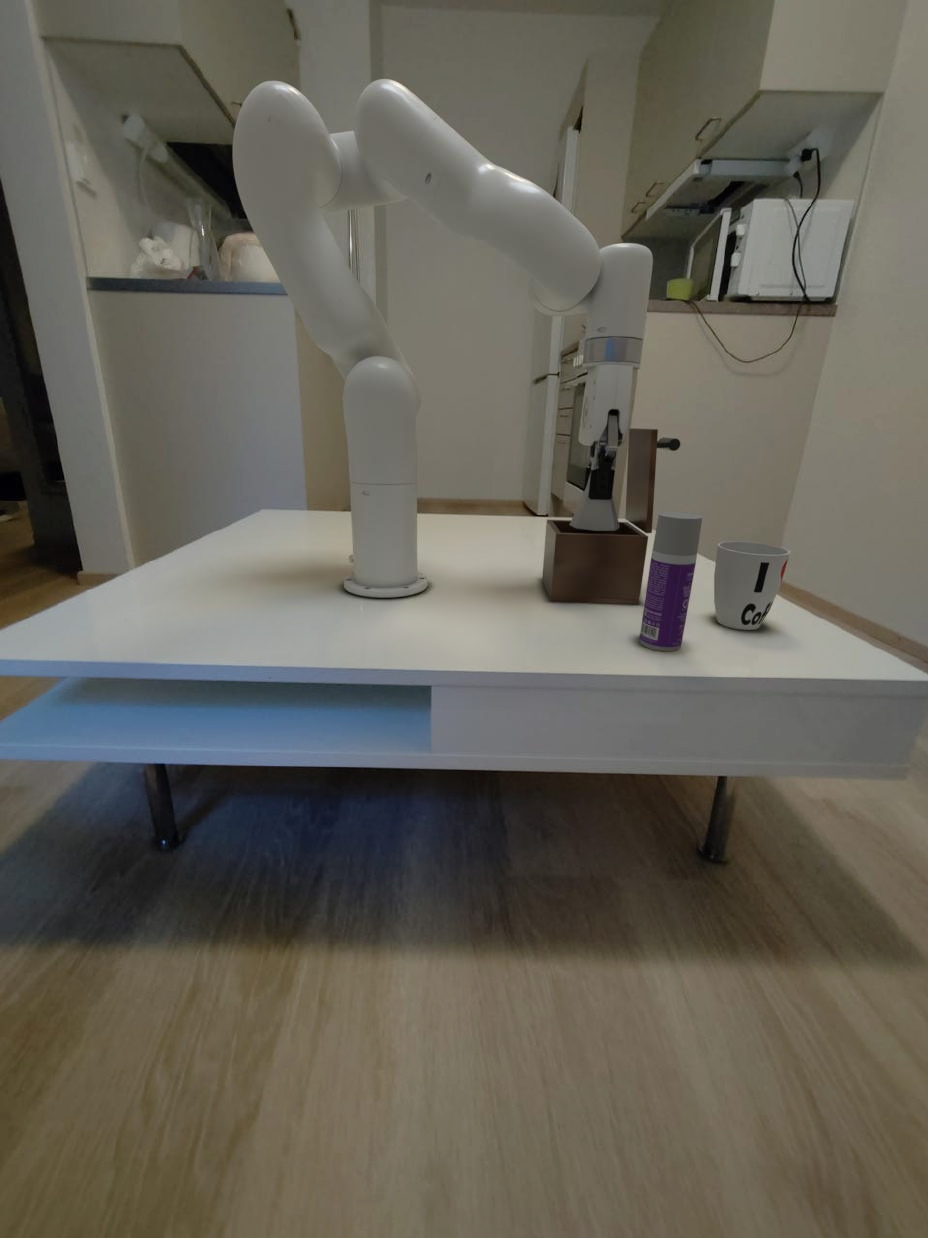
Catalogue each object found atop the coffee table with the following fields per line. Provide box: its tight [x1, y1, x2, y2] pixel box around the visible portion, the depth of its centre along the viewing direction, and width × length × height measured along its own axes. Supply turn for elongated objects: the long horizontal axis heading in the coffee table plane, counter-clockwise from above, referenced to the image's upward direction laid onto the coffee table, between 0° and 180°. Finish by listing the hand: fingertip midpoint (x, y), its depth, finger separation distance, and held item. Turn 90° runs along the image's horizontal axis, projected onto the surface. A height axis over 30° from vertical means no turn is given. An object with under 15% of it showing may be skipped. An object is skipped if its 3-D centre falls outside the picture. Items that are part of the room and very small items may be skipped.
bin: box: [541, 519, 649, 605], centre depth 82 cm, size 13×12×10 cm
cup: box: [713, 541, 791, 631], centre depth 70 cm, size 8×8×10 cm
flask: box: [569, 457, 620, 531], centre depth 78 cm, size 7×7×10 cm
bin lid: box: [624, 427, 681, 534], centre depth 77 cm, size 13×12×5 cm
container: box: [638, 511, 703, 652], centre depth 61 cm, size 5×5×15 cm
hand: (597, 496), depth 79 cm, fingers closed on flask, 3 cm apart
